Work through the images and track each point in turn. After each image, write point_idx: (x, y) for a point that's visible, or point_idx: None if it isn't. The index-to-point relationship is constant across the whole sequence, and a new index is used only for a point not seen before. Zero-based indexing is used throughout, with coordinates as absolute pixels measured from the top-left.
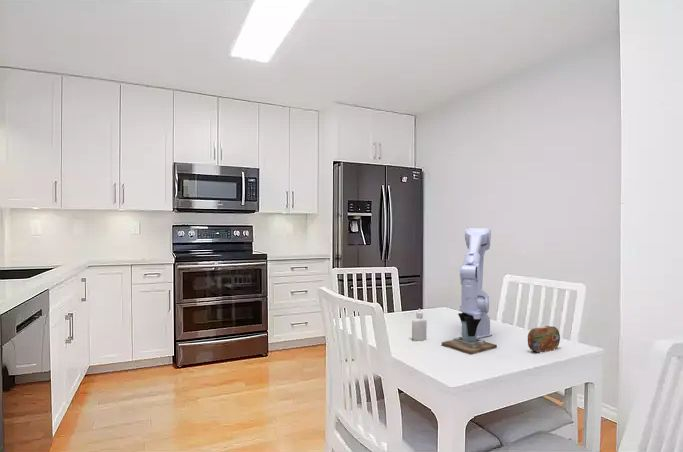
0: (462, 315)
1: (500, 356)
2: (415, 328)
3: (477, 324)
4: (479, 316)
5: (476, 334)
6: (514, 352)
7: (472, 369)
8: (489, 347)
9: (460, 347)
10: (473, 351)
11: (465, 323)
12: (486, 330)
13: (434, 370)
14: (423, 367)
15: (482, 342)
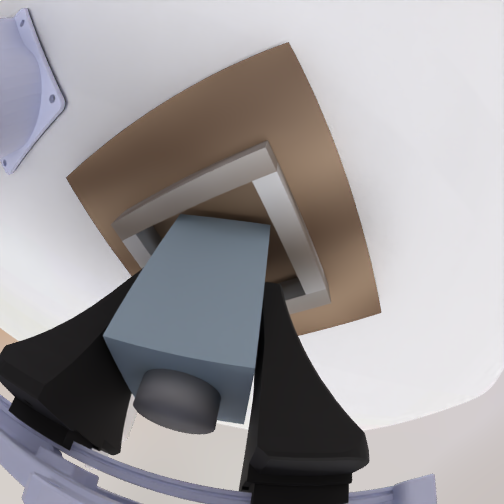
0: (111, 442)
1: (463, 164)
2: (135, 417)
3: (322, 388)
4: (433, 502)
5: (265, 269)
6: (416, 9)
7: (478, 348)
8: (331, 137)
9: (297, 324)
10: (377, 292)
11: (227, 420)
12: (1, 39)
13: (422, 408)
14: (395, 418)
15: (283, 180)
